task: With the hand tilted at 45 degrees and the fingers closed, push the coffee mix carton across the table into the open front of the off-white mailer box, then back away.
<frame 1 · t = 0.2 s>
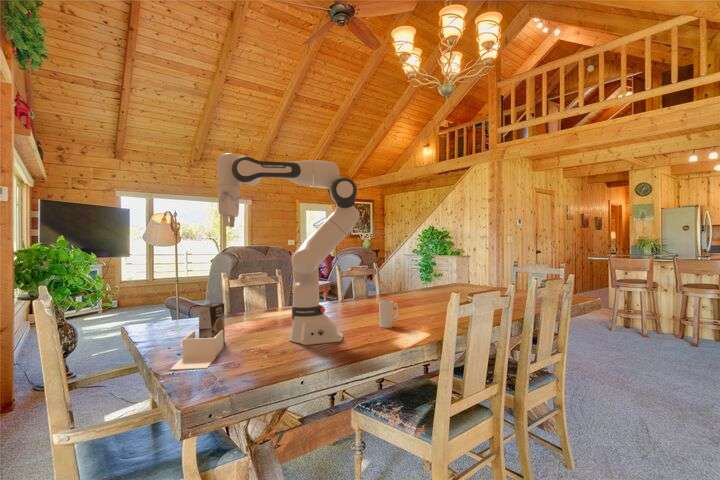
hand: (229, 226, 162), 48 cm above the table, fingers open, 8 cm apart
mailer box: (204, 352, 148), on the table
coffee box: (212, 344, 160), on the table
mug: (389, 326, 187), on the table
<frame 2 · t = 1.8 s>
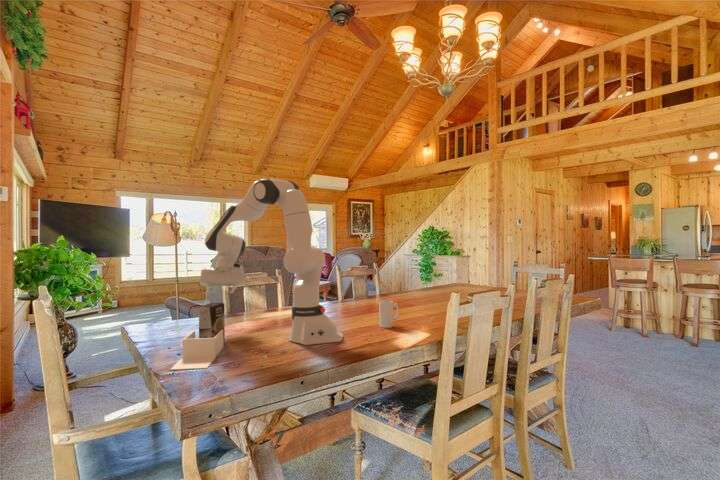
hand: (220, 292, 180), 18 cm above the table, fingers open, 8 cm apart
nothing on the table moved.
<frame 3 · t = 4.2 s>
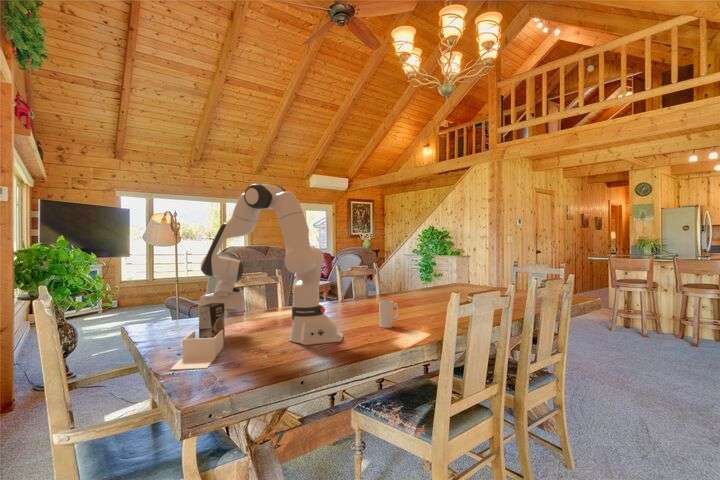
hand: (219, 319, 172), 7 cm above the table, fingers closed
nothing on the table moved.
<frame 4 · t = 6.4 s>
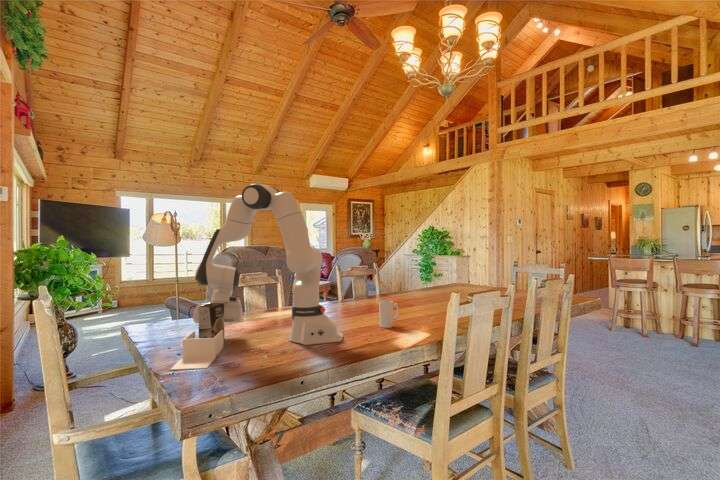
hand: (215, 330, 165), 4 cm above the table, fingers closed
coffee box: (212, 344, 159), on the table, touching gripper
everything else where it was.
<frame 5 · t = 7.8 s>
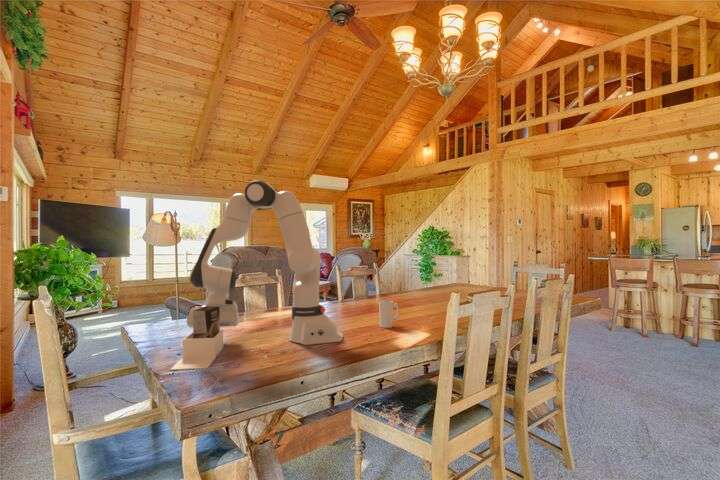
hand: (210, 334, 157), 4 cm above the table, fingers closed
coffee box: (207, 350, 152), on the table, touching gripper
everything else where it was.
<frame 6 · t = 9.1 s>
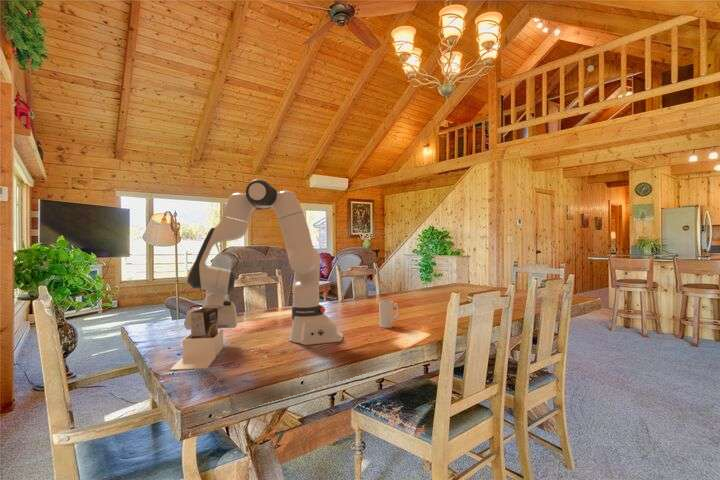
hand: (208, 337, 154), 4 cm above the table, fingers closed
coffee box: (205, 352, 148), on the table, touching gripper
everything else where it was.
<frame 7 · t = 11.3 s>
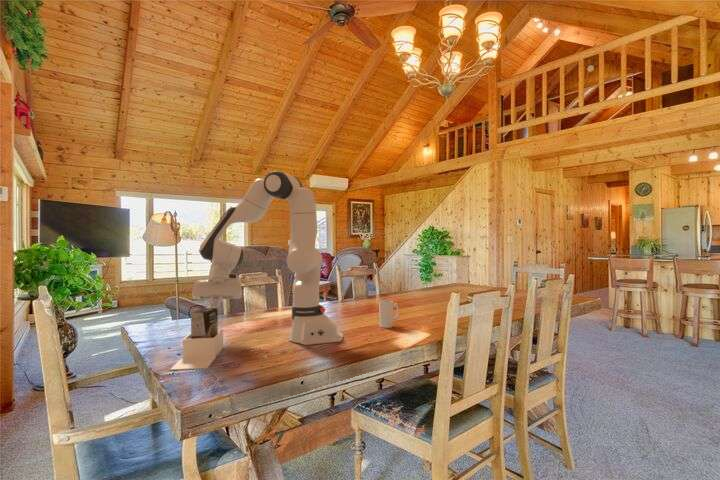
hand: (215, 306, 164), 15 cm above the table, fingers closed
coffee box: (205, 352, 148), on the table
everything else where it was.
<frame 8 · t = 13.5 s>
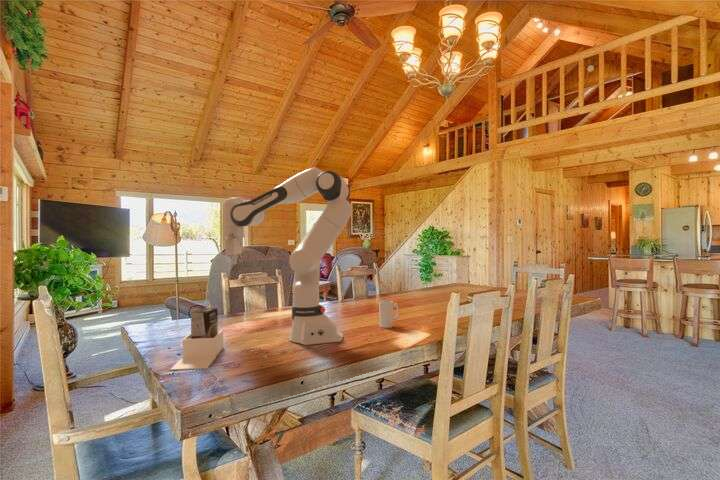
hand: (234, 264, 176), 31 cm above the table, fingers closed
nothing on the table moved.
at the end: coffee box inside the target area (0.8 cm from its centre), on the table; coffee box tilted 0°; coffee box moved 11.5 cm from its start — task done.
